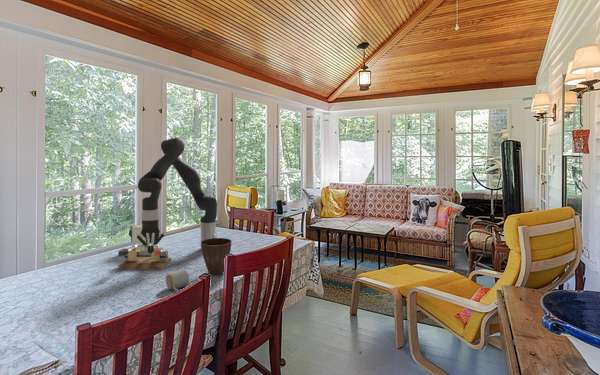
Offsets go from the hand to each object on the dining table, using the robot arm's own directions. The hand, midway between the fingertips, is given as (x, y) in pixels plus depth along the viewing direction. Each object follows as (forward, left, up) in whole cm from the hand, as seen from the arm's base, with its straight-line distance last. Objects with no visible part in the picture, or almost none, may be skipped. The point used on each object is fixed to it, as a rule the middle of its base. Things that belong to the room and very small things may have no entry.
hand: (150, 253), depth 168 cm
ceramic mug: (-21, +21, -10) cm, 31 cm away
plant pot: (-33, 0, -10) cm, 34 cm away
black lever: (+13, -5, -1) cm, 14 cm away
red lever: (-1, -6, -1) cm, 6 cm away
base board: (+7, -12, -10) cm, 17 cm away
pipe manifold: (+7, -12, -8) cm, 16 cm away
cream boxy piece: (+18, -37, -10) cm, 42 cm away
